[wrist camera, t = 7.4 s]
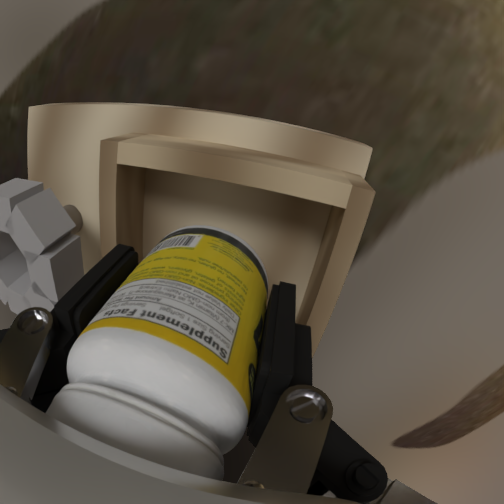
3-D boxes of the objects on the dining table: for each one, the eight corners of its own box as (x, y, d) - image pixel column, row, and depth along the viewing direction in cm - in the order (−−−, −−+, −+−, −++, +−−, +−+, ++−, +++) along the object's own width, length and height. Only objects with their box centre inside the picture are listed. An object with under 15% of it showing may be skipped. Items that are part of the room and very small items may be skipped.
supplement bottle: (238, 342, 13) (190, 529, 6) (140, 294, 13) (35, 456, 5) (294, 258, 11) (277, 511, 3) (174, 198, 10) (-6, 378, 3)
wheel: (77, 188, 10) (42, 206, 8) (90, 312, 13) (68, 339, 11) (-6, 174, 10) (-36, 188, 8) (11, 279, 13) (-11, 298, 11)
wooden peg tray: (362, 142, 12) (401, 164, 8) (298, 342, 18) (294, 416, 13) (52, 103, 13) (-20, 116, 8) (61, 276, 19) (14, 321, 14)
